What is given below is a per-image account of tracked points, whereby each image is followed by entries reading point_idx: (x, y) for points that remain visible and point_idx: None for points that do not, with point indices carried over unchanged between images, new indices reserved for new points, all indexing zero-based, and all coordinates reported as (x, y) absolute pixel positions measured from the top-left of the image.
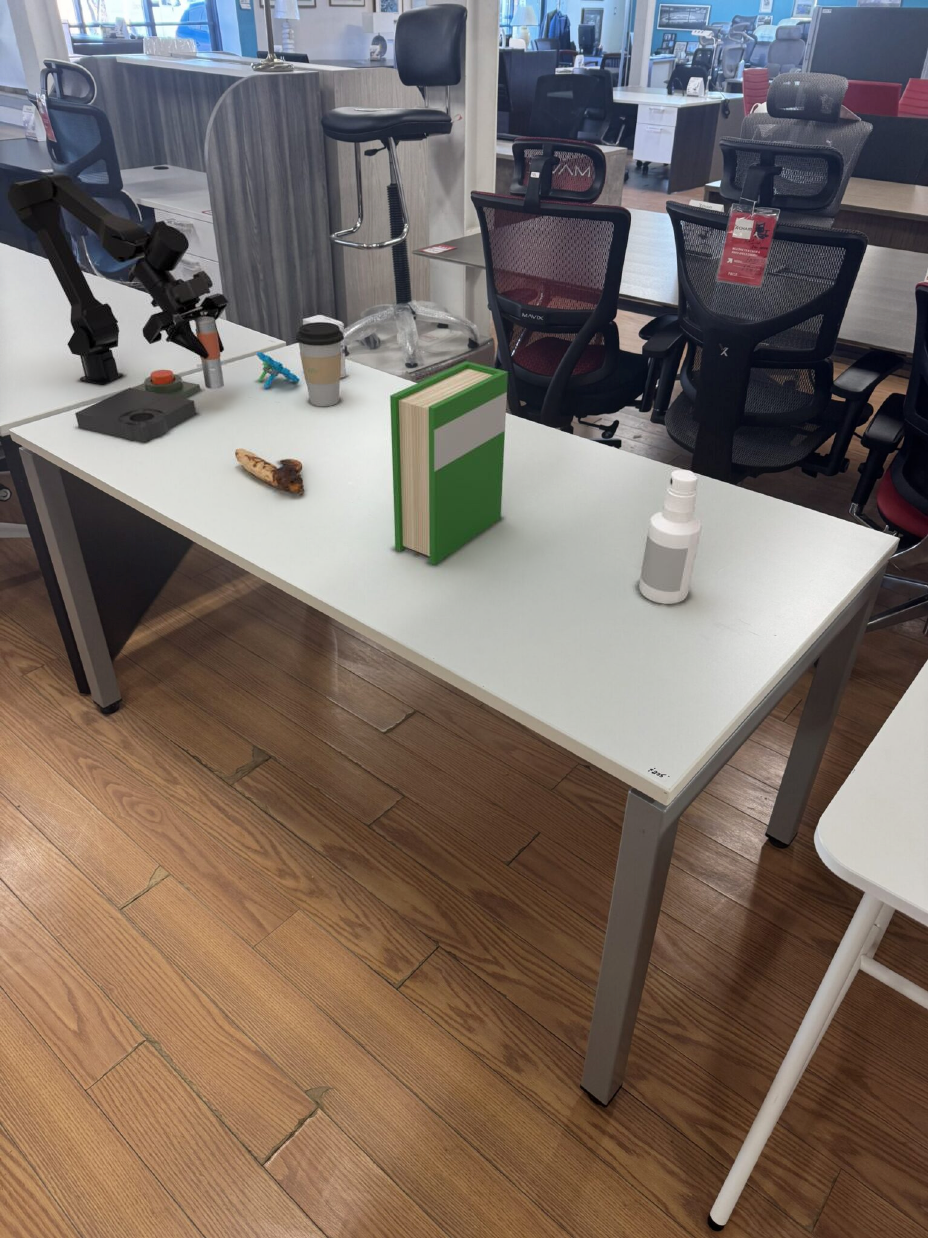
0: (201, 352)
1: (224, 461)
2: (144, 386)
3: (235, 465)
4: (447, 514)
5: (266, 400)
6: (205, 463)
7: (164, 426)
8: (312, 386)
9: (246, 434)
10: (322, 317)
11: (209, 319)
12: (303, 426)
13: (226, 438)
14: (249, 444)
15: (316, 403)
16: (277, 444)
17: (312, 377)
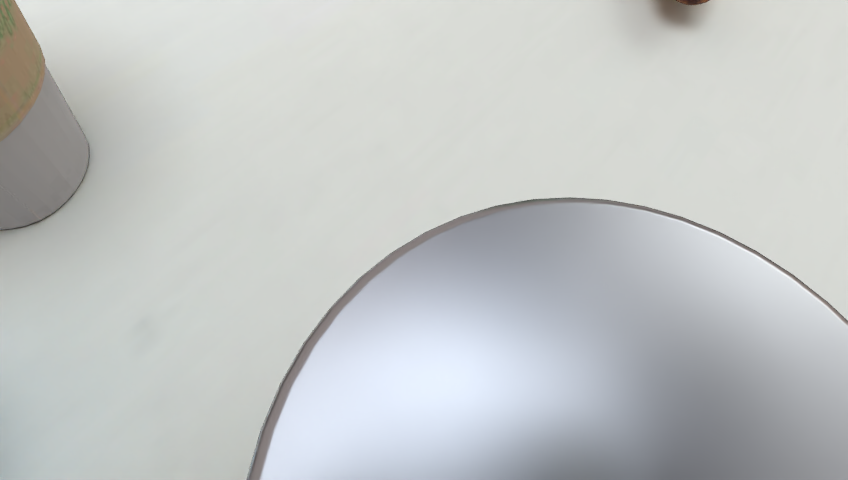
0: None
1: (712, 74)
2: None
3: (696, 34)
4: None
5: (151, 403)
6: (773, 105)
7: None
8: (47, 100)
9: (523, 169)
10: None
11: (502, 358)
12: (315, 69)
13: (607, 199)
14: (570, 102)
15: (85, 151)
16: (496, 39)
17: (29, 44)
